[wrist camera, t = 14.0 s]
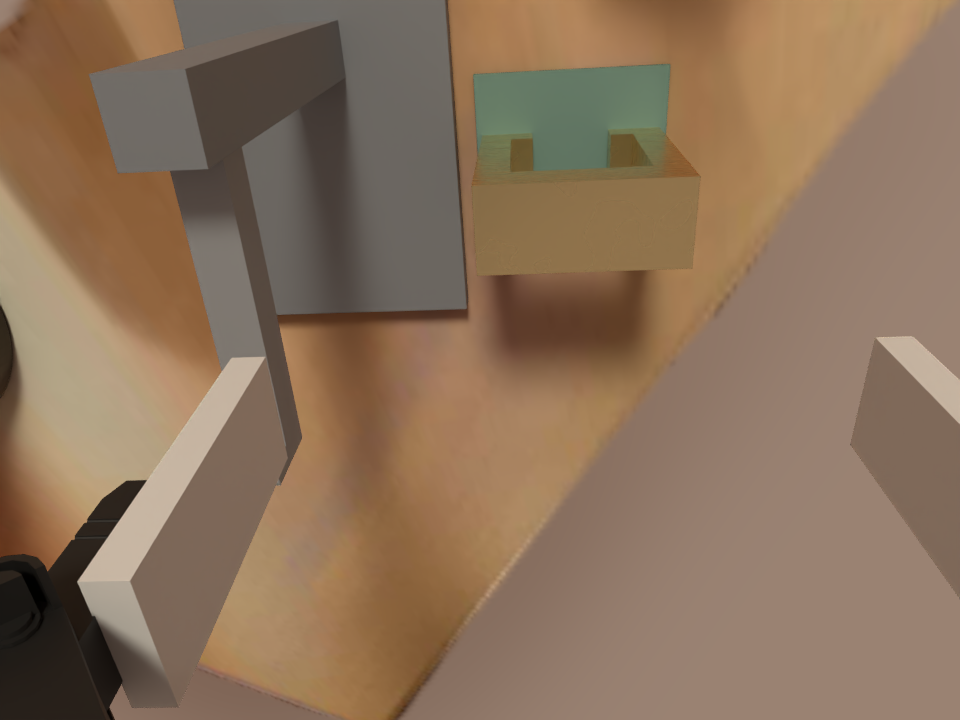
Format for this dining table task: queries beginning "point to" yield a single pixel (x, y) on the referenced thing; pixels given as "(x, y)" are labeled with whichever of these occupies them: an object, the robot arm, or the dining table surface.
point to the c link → (584, 208)
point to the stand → (302, 162)
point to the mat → (571, 109)
